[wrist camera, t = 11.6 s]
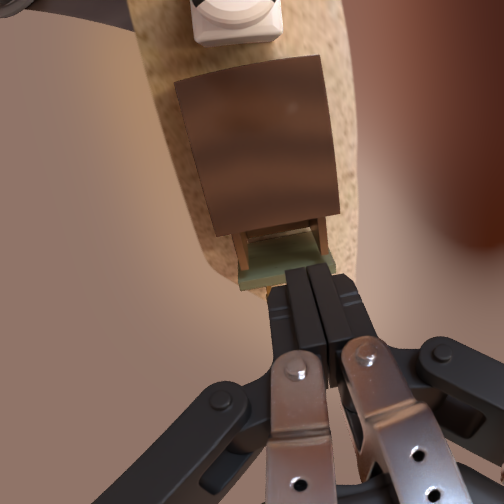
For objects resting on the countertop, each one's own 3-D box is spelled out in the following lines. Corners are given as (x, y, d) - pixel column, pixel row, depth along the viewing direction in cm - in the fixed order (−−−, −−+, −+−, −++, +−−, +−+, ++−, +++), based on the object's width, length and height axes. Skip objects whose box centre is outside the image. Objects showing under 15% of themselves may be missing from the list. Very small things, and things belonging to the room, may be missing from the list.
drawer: (324, 270, 41) (337, 307, 35) (248, 284, 42) (250, 324, 36) (308, 133, 32) (325, 150, 25) (213, 151, 32) (207, 172, 26)
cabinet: (318, 179, 35) (340, 213, 28) (221, 198, 36) (216, 237, 29) (299, 57, 28) (319, 54, 20) (190, 78, 29) (173, 82, 21)
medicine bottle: (197, -13, 23) (175, -51, 13) (268, -19, 23) (283, -61, 13) (203, 48, 27) (183, 36, 17) (274, 41, 27) (294, 26, 17)
